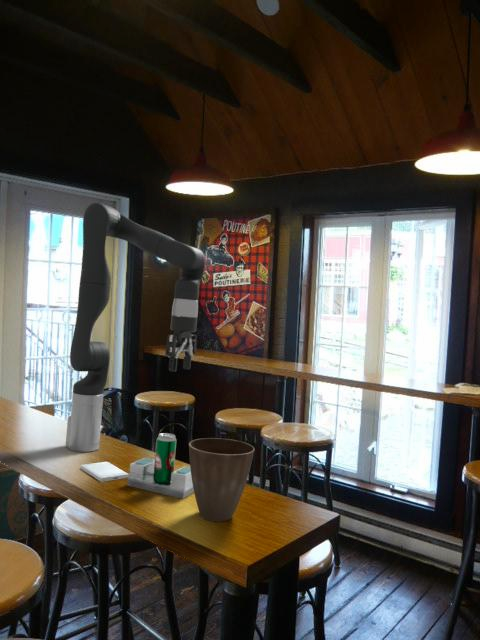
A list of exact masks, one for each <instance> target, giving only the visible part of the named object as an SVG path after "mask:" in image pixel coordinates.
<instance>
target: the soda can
mask: <svg viewBox="0 0 480 640" xmlns="http://www.w3.org/2000/svg"><path fill="white" fill-rule="evenodd" d="M176 448H177V438H176V434H174V433H168V432H165V433H164V432H163V433H159V434H158V437H157V438H156V442H155V453H154V454H155V455H154V460H155V464H154V475H153V480H154V481H155V482H156V483H158V484H169V483H171V474H172V472H174V471H175V462H176V460H175V459H176V452H177V451H176V450H177V449H176Z"/></svg>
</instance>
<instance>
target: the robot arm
mask: <svg viewBox="0 0 480 640" xmlns="http://www.w3.org/2000/svg"><path fill="white" fill-rule="evenodd" d="M82 220H83V221H82V244H83V245H82V257H81V271H80V276H79V277H80V279H79V287H78V288H79V289H78V298H77V299H78V302H77V308H76V309H77V310H76V318H75V323H74V324H75V325H74V331H73V336H72V340H71V344H70V345H71V347H70V354H69V360H70V361H69V362H70V366H71V368H72V369H73V370H74V371H76V372H82V373H83V372H87V374H86V375H85V376H84V377H83V378H81V379H80V380H78V381H76V382H75V383H73V386H72V397H71V399H72V400H71V409H70V415H69V416H68V417H67V422H66V423H67V426H66V433H65V434H66V435H65V448H68V449H69V450H70V451H74V452H83V453H84V452H85V453H87V452H94V451H95V452H96V451H97V450H99V448H100V440H101V439H100V438H101V426H102V416H103V406H104V405H103V404H104V392H105V391H104V390H105V388H106V385H107V382H108V374H109V367H110V359H111V357H110V356H111V353H110V348H109V346H108V345H107V344H106V343H105V342H103V341H91V338H92V332H93V329H94V326H95V324H96V322H97V321H98V319H99V318H100V316H101V314H102V313H104V310H105V309H106V307H107V306H108V304H109V301H110V297H111V288H112V287H111V286H112V276H111V271H110V267H109V264H108V260H107V257H106V240H107V237H111V238H115V239H118V240H123V241H126V242H128V243H130V244H132V245H134V246H136V248H138V249H140V250H142V251H144V252H145V253H147V254H149V255H151V256H154V257H156V258H158V259H160V260H163V261H166V262H167V263H169V264H171V265H172V266H174V267H177V268H178V269H181V270H182V271H181V276H180V278H179V279H177V280H176V281H175V286H174V294H173V295H174V296H173V297H174V298H173V303H172V307H171V317H170V319H171V320H170V330H171V331H174V333H173V334H168V335H167V337H166V345H165V356H166V357H168V358H169V361H168V371H169V372H172V373H173V372H174V373H175V372H177V370H178V369H177V368H178V358H179V355H180V353H183V355H184V356H183V362H182V369H183V370H190V369H191V364H192V357H193V356H195V355H196V354H197V338H198V335H197V334H192V333H195V332H197V327H198V326H197V325H198V315H199V295H200V284H201V281H202V279H203V276H204V271H205V267H206V266H205V265H206V257H205V254H204V253H203V251H202V250H201V249H199V248H197V247H194V246H191V245H189V244H185V243H183V242H180V241H179V240H175V239H174V237H173V238H172V237H171V236H169V235H166V234H164V233H162V232H160V231H158V230H154V229H153V228H150V227H147V226H143V225H142V224H138V223H137V222H134V221H133V220H132V219H130V218H128V217H126V215H124V214H123V213H121V212H119V211H118V210H116V208H114V207H112V206H109V205H106V204H104V203H101V202H93V203H91V204H89V205H88V206H87V208H86V209H85V211H84V213H83V219H82Z"/></svg>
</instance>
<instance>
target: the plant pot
mask: <svg viewBox="0 0 480 640" xmlns="http://www.w3.org/2000/svg"><path fill="white" fill-rule="evenodd" d="M188 452H189V453H188V456H189V467H190V469H191V476H192V483H193V489H194V492H193V494H194V498H195V502H196V505H197V509H198V513H199V515H200V517H201V518H202V519H205V520H207V521H211V522H226V521H228V520H231V519H232V518H233V516H234V515H235V512H236V510H237V508H238V506H239V503H240V500H241V498H242V495H243V493H244V490H245V488H246V484H247V480H248V478H249V475H250V470H251V467H252V464H253V463H252V461H253V457H254V452H255V447H254V446H253V445H251V444H249V443H247V442H244V441H241V440H235V439H229V438H221V437H217V438H216V437H207V438H205V437H204V438H197V439H193V440H191V441H190V442H189V443H188Z"/></svg>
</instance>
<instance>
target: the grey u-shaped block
mask: <svg viewBox="0 0 480 640" xmlns="http://www.w3.org/2000/svg"><path fill="white" fill-rule="evenodd" d="M154 464H155V459H154V458H153V459H152V458H147V457H143V458H141V459H138V460H135V461H134V462H131V463H130V464H129V473H128V474H129V477H128V478H127V486H128V487H133V488H137V489H141V490H145V491H148V492H154V493H158V494H161V495H166V496H169V497H175V498H179V499H183V500H184V499H185V498H187V497H188V496H190V495H192V494H194V489H193V483H192V476H191V469H190V466H185V465H184V466H183V467H181V468H178V469H175V470H174V472H172V474H171V483H169V484H158V483H156V482H155V481H154V480H153V475H154ZM191 493H192V494H191Z"/></svg>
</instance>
